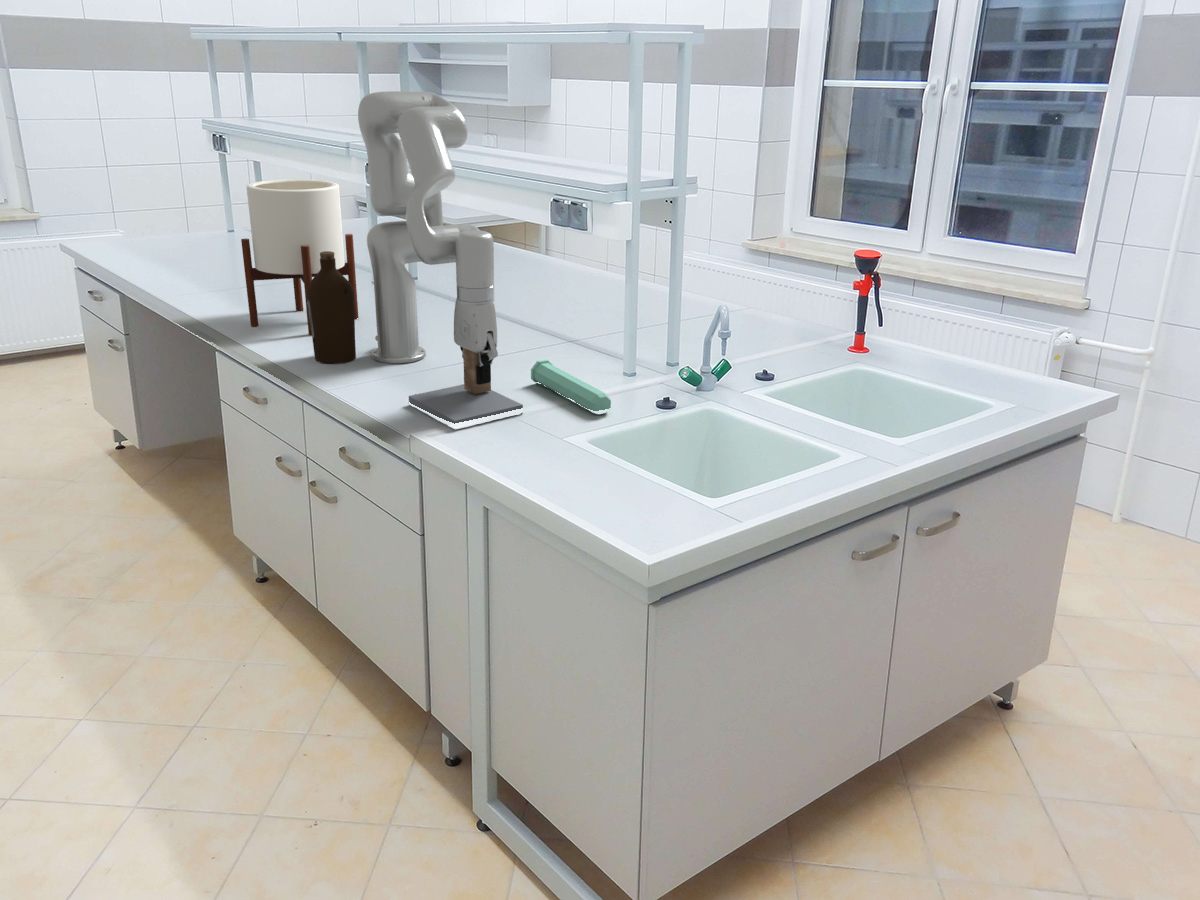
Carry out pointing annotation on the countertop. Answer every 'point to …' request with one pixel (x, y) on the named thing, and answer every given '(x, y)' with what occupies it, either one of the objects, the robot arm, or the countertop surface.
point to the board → (463, 403)
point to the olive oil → (331, 313)
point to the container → (569, 386)
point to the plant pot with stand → (294, 236)
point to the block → (472, 373)
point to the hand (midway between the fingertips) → (477, 379)
